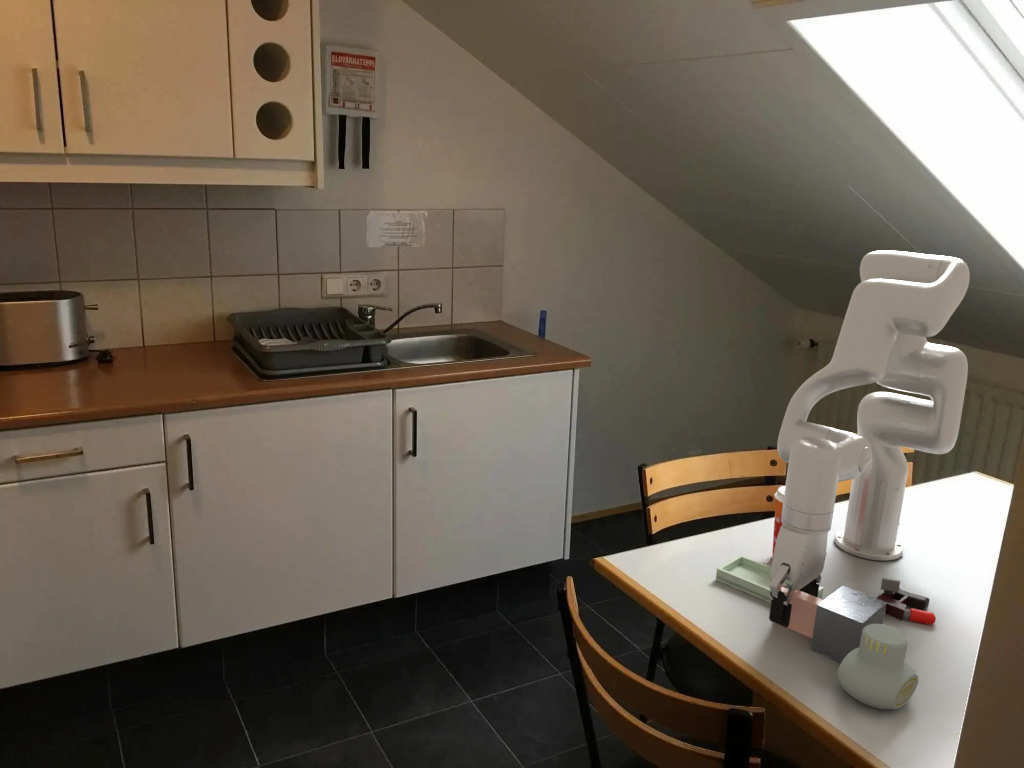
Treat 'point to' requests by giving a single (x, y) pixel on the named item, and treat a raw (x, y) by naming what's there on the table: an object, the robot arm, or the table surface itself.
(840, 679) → the air freshener
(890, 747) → the table surface
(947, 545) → the table surface
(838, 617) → the dispenser
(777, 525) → the paper cup
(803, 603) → the pink rectangular block
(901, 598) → the toy gun
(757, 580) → the tray
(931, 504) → the table surface
